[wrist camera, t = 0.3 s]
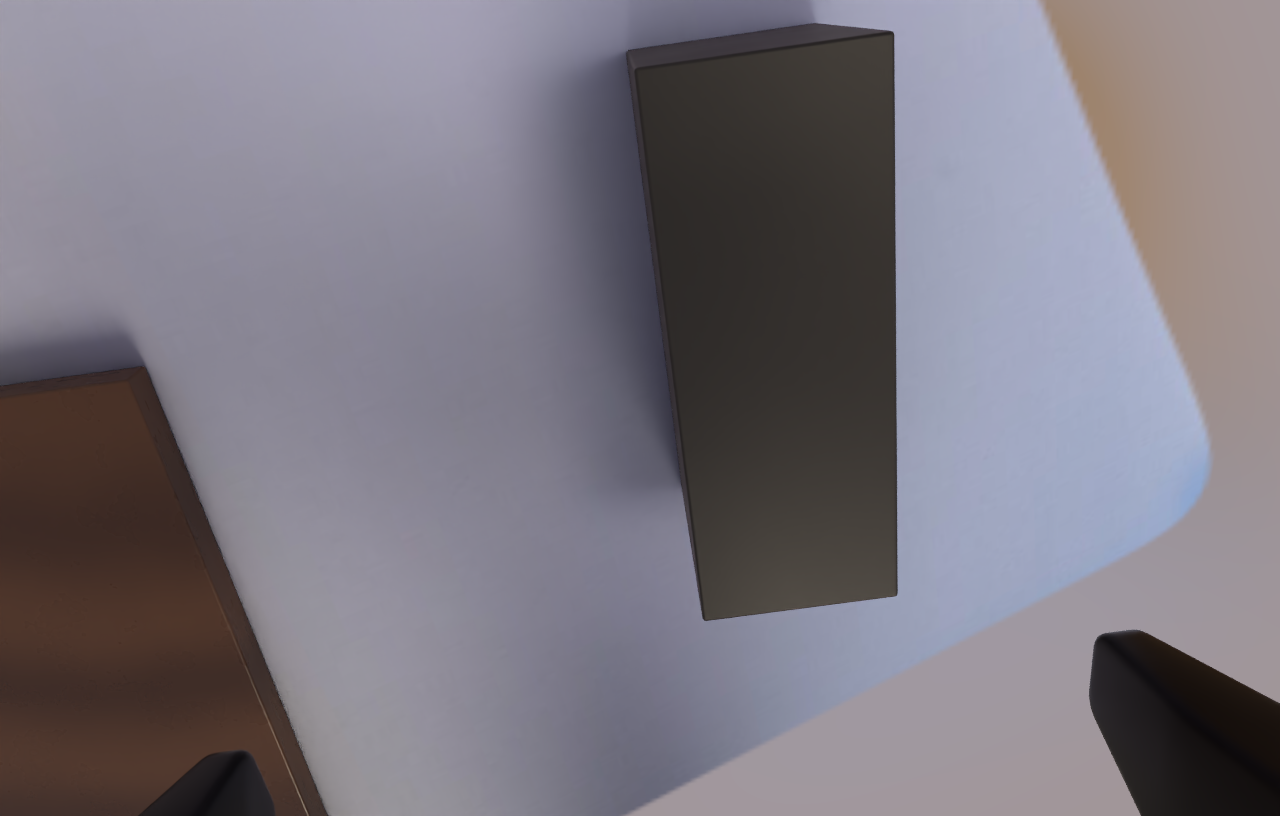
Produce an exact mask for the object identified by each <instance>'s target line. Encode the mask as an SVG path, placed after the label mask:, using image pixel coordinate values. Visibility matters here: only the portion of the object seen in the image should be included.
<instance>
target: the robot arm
mask: <svg viewBox="0 0 1280 816" xmlns="http://www.w3.org/2000/svg"><path fill="white" fill-rule="evenodd" d="M1089 699H1090V705H1091V709H1092V712H1093V715H1094V718H1095V720H1096V722H1097V724H1098V726H1099V728H1100V730H1101V733H1102V735H1103V737H1104V739H1105V741H1106V743H1107V745H1108V747H1109V749H1110V751H1111V754H1112V756H1113V758H1114V760H1115V762H1116V764H1117V766H1118V768H1119V770H1120V773H1121V774H1122V777H1123V779H1124V781H1125V783H1126V785H1127V787H1128V789H1129V791H1130V793H1131V796H1132V798H1133V800H1134V802H1135V804H1136V806H1137V808H1138V810H1139V812H1140V815H1141V816H1280V703H1278V702H1276V701H1274V700H1272V699H1270V698H1268V697H1267V696H1265V695H1263V694H1261V693H1259V692H1257V691H1255V690H1253V689H1251V688H1249V687H1248V686H1246V685H1244V684H1242V683H1240V682H1238V681H1236V680H1234V679H1233V678H1230V677H1229V676H1227V675H1225V674H1223V673H1221V672H1219V671H1217V670H1216V669H1214V668H1212V667H1210V666H1208V665H1206V664H1204V663H1202V662H1200V661H1199V660H1196V659H1195V658H1193V657H1191V656H1189V655H1187V654H1185V653H1183V652H1181V651H1180V650H1178V649H1176V648H1174V647H1172V646H1170V645H1168V644H1166V643H1165V642H1163V641H1161V640H1159V639H1157V638H1155V637H1153V636H1151V635H1149V634H1148V633H1145V632H1143V631H1140V630H1126V631H1119V632H1111V633H1105V634H1102V635H1100V636H1099V637H1097V639H1096V641H1095V644H1094V650H1093V659H1092V669H1091V679H1090V689H1089ZM138 816H276V814H275V806H274V802H273V799H272V797H271V794H270V792H269V790H268V788H267V785H266V783H265V781H264V779H263V776H262V774H261V772H260V770H259V767H258V765H257V763H256V761H255V759H254V757H253V755H252V754H251V753H250V752H248V751H247V750H242V749H241V750H232V751H225V752H218V753H213V754H209V755H207V756H205V757H204V758H203V759H201V760H200V761H199V762H198V763H197V764H196V765H194V766H193V767H192V768H191V769H190V770H189V771H188V772H187V773H185V774H184V775H183V776H182V777H181V778H180V779H179V780H178V781H176V782H175V783H174V784H173V785H172V786H171V787H170V788H169V789H167V790H166V791H165V792H164V793H163V794H162V795H161V796H160V797H158V798H157V799H156V800H155V801H154V802H153V803H152V804H151V805H149V806H148V807H147V808H146V809H145V810H144V811H143V812H142V813H140V814H139V815H138Z"/></svg>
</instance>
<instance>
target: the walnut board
mask: <svg viewBox="0 0 1280 816" xmlns="http://www.w3.org/2000/svg"><path fill="white" fill-rule="evenodd" d="M241 749H242V750H247V751H248V752H250V753H251V754H252V755H253V757H254V759H255V761H256V763H257V765H258V767H259V770H260V772H261V774H262V776H263V779H264V781H265V783H266V785H267V788H268V790H269V792H270V794H271V797H272V799H273V802H274V806H275V814H276V816H327V814H326V811H325V809H324V806H323V804H322V801H321V799H320V797H319V794H318V792H317V789H316V787H315V784H314V782H313V779H312V777H311V774H310V772H309V769H308V767H307V765H306V762H305V760H304V757H303V755H302V752H301V750H300V747H299V745H298V742H297V740H296V737H295V735H294V733H293V730H292V728H291V725H290V723H289V720H288V718H287V715H286V713H285V710H284V708H283V705H282V703H281V701H280V698H279V696H278V693H277V691H276V688H275V686H274V683H273V681H272V678H271V676H270V673H269V671H268V669H267V666H266V664H265V661H264V659H263V656H262V654H261V651H260V649H259V646H258V644H257V641H256V639H255V637H254V634H253V632H252V629H251V627H250V624H249V622H248V619H247V617H246V614H245V612H244V609H243V607H242V605H241V602H240V600H239V597H238V595H237V592H236V590H235V587H234V585H233V582H232V580H231V577H230V575H229V573H228V570H227V568H226V565H225V563H224V560H223V558H222V555H221V553H220V550H219V548H218V545H217V543H216V541H215V538H214V536H213V533H212V531H211V528H210V526H209V523H208V521H207V518H206V516H205V513H204V511H203V509H202V506H201V504H200V501H199V499H198V496H197V494H196V491H195V489H194V486H193V484H192V481H191V479H190V476H189V474H188V472H187V469H186V467H185V464H184V462H183V459H182V457H181V454H180V452H179V449H178V447H177V444H176V442H175V440H174V437H173V435H172V432H171V430H170V427H169V425H168V422H167V420H166V417H165V415H164V412H163V410H162V408H161V405H160V403H159V400H158V398H157V395H156V393H155V390H154V388H153V385H152V383H151V380H150V378H149V376H148V373H147V371H146V368H145V367H135V368H128V369H120V370H113V371H106V372H99V373H91V374H84V375H77V376H70V377H62V378H55V379H48V380H41V381H33V382H26V383H19V384H12V385H4V386H0V816H138V815H139V814H140V813H142V812H143V811H144V810H145V809H146V808H147V807H148V806H149V805H151V804H152V803H153V802H154V801H155V800H156V799H157V798H158V797H160V796H161V795H162V794H163V793H164V792H165V791H166V790H167V789H169V788H170V787H171V786H172V785H173V784H174V783H175V782H176V781H178V780H179V779H180V778H181V777H182V776H183V775H184V774H185V773H187V772H188V771H189V770H190V769H191V768H192V767H193V766H194V765H196V764H197V763H198V762H199V761H200V760H201V759H203V758H204V757H205V756H207V755H209V754H213V753H218V752H225V751H232V750H241Z"/></svg>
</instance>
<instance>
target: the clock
mask: <svg viewBox="0 0 1280 816" xmlns="http://www.w3.org/2000/svg"><path fill="white" fill-rule="evenodd" d="M626 57H627V65H628V73H629V81H630V88H631V96H632V104H633V112H634V119H635V127H636V135H637V143H638V151H639V158H640V166H641V174H642V182H643V190H644V197H645V205H646V213H647V221H648V228H649V236H650V244H651V252H652V260H653V267H654V275H655V283H656V291H657V298H658V306H659V314H660V322H661V330H662V337H663V345H664V353H665V361H666V369H667V376H668V384H669V392H670V400H671V407H672V415H673V423H674V431H675V439H676V446H677V454H678V462H679V470H680V477H681V485H682V492H683V498H684V505H685V511H686V517H687V523H688V530H689V536H690V542H691V548H692V555H693V561H694V567H695V573H696V580H697V586H698V592H699V598H700V605H701V611H702V617H703V619H704V621H709V620H716V619H724V618H732V617H739V616H747V615H755V614H763V613H770V612H778V611H786V610H793V609H801V608H809V607H816V606H824V605H832V604H840V603H847V602H855V601H863V600H870V599H878V598H886V597H893V596H897V593H898V585H897V419H896V254H895V88H894V33H893V32H892V31H886V30H876V29H867V28H857V27H847V26H837V25H827V24H817V23H813V24H806V25H799V26H792V27H785V28H778V29H771V30H764V31H757V32H751V33H744V34H737V35H730V36H723V37H716V38H709V39H702V40H695V41H688V42H681V43H674V44H667V45H661V46H654V47H647V48H640V49H633V50H628V51H627V52H626Z"/></svg>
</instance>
